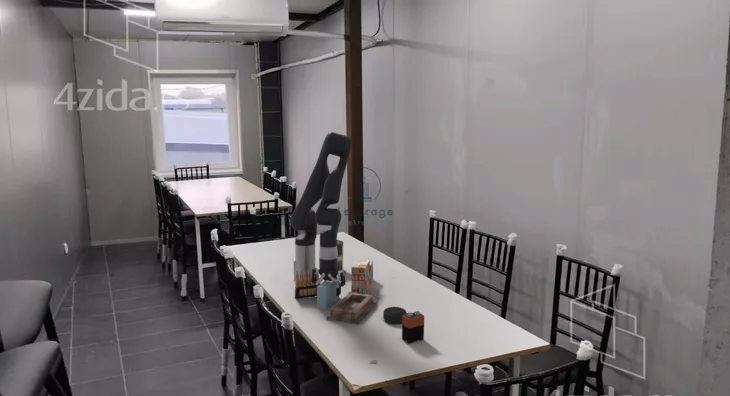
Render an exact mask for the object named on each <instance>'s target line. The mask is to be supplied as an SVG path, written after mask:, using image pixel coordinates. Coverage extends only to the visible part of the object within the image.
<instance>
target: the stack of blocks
mask: <svg viewBox="0 0 730 396" xmlns="http://www.w3.org/2000/svg"><path fill="white" fill-rule="evenodd" d="M350 268H351V269H350V271H351V277H350V280H351V281H350V282H351V285H350V286H351V287H350V289H351V290H350V291H351V293H358V294H366V295H367V292H368V290H369V288H370V286H371V284H372V282H373V281H374V280H373V279H374V260H371V259H364V258H363V259H361V258H360V259H359V258H357V259H355V261H354V263H353V264H352V266H351V267H350Z"/></svg>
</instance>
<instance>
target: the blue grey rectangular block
mask: <svg viewBox="0 0 730 396" xmlns="http://www.w3.org/2000/svg"><path fill="white" fill-rule="evenodd" d="M338 279H339V280H340V277H338ZM336 288H337V286H336V285H335V284H334V283H333V282H332V281H328V280H327V281H324V280H323V281H322V282H321V283H320V285H318V286H317V297H316V308H317V309H322V308H323V310H327V309H328V308H329V307H331V306H332V305H333V304H335V302H336V301H337V300H338V299H339V298H340V295H339V296H336ZM332 303H333V304H332Z"/></svg>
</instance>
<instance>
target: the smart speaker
mask: <svg viewBox="0 0 730 396" xmlns="http://www.w3.org/2000/svg"><path fill="white" fill-rule="evenodd" d="M382 313H383V314H382V316H383V317H382V318H383V321H385V322H386V323H389V324H392V325H393V324H394V325H395V324H397V325H398V324H402V316H403V315H405V314H407V313H408V312H407V311H406V309H405V308H403V307H401V306H400V307H399V306H389V307H386V308H385V309H384V310H383V312H382Z"/></svg>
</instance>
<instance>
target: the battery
mask: <svg viewBox="0 0 730 396" xmlns="http://www.w3.org/2000/svg"><path fill="white" fill-rule="evenodd" d="M401 326H402V327H401V340H403V341H404V342H406V343H407V344H412V343H415V342H419V341H423V340H424V339H425V338H424V337H425V315H424V314H423V313H421V311H418V310H416V311H414V312H411V311H410V312H409V311H408V312H407V314H405V315H403V316H402V323H401Z"/></svg>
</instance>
